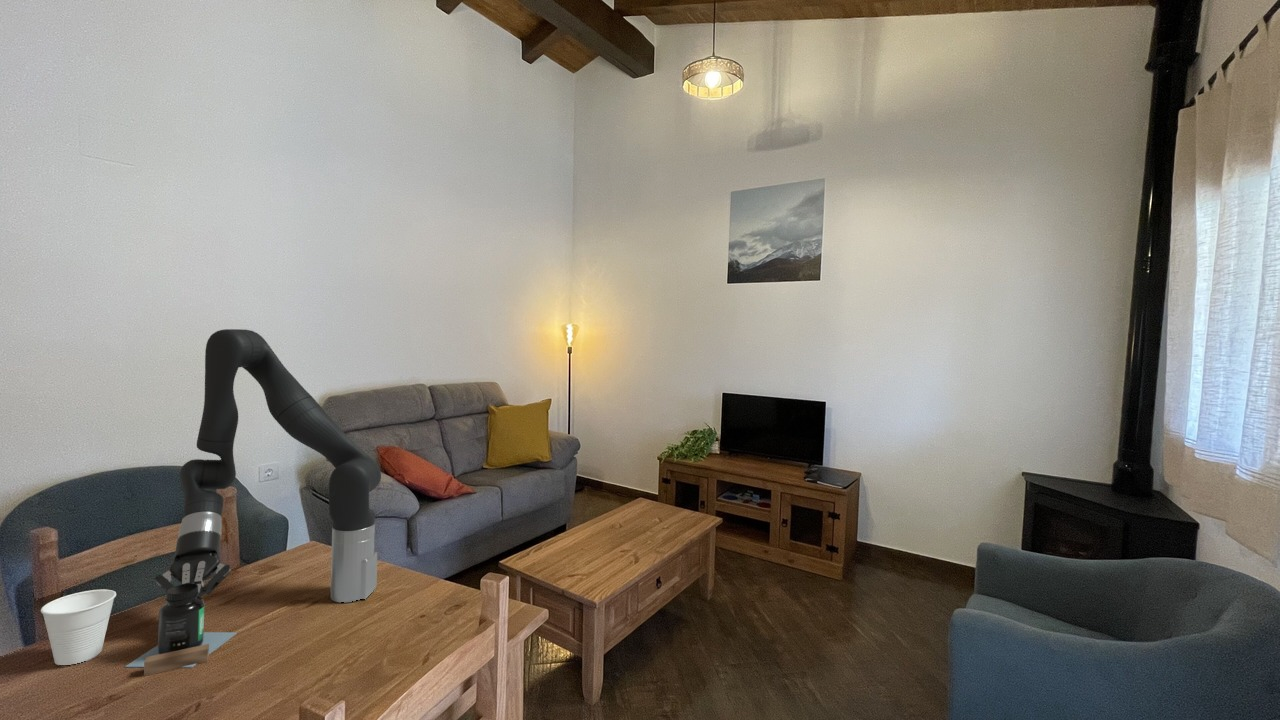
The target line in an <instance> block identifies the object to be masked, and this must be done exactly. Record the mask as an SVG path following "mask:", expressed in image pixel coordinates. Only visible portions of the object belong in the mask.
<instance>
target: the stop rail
mask: <svg viewBox="0 0 1280 720" xmlns="http://www.w3.org/2000/svg"><path fill="white" fill-rule="evenodd" d="M209 657H210V654H209V644H206V645H201V646H196V647H192V648H187V649H182V650H178V651H173V652H168V653H164V654H159V655H154V656H149V657H147V658H146V660H145V662H144V667H143V677H146V676H151V675H155V674H158V673H163V672H168V671H173V670H178V669H182V667H183V666H187V665H192V664H196V665H198V664H203V663H207V662H208V661H209Z"/></svg>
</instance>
